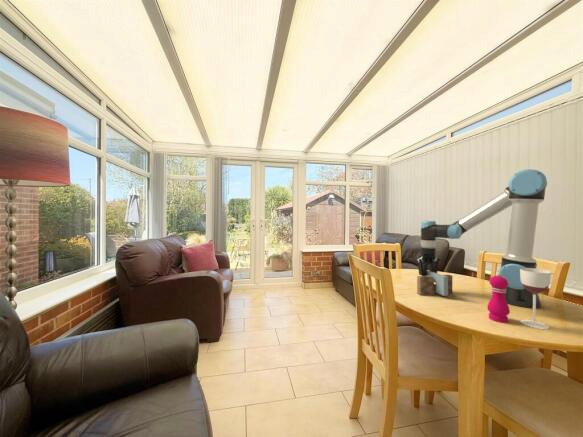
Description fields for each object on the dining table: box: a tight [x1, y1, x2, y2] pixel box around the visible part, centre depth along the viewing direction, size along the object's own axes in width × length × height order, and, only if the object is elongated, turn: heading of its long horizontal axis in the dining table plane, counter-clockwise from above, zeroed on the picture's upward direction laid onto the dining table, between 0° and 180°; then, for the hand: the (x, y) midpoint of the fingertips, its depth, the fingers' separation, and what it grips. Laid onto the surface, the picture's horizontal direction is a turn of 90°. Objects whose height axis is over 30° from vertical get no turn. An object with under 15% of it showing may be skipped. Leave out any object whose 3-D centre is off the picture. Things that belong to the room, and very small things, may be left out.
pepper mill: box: [486, 272, 511, 324], centre depth 102 cm, size 7×7×20 cm
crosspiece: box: [426, 269, 449, 297], centre depth 135 cm, size 16×2×10 cm, turn 9°
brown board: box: [416, 274, 453, 296], centre depth 135 cm, size 20×2×10 cm, turn 99°
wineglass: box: [519, 268, 552, 330], centre depth 97 cm, size 9×10×22 cm
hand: (427, 287), depth 141 cm, fingers closed on crosspiece, 2 cm apart
